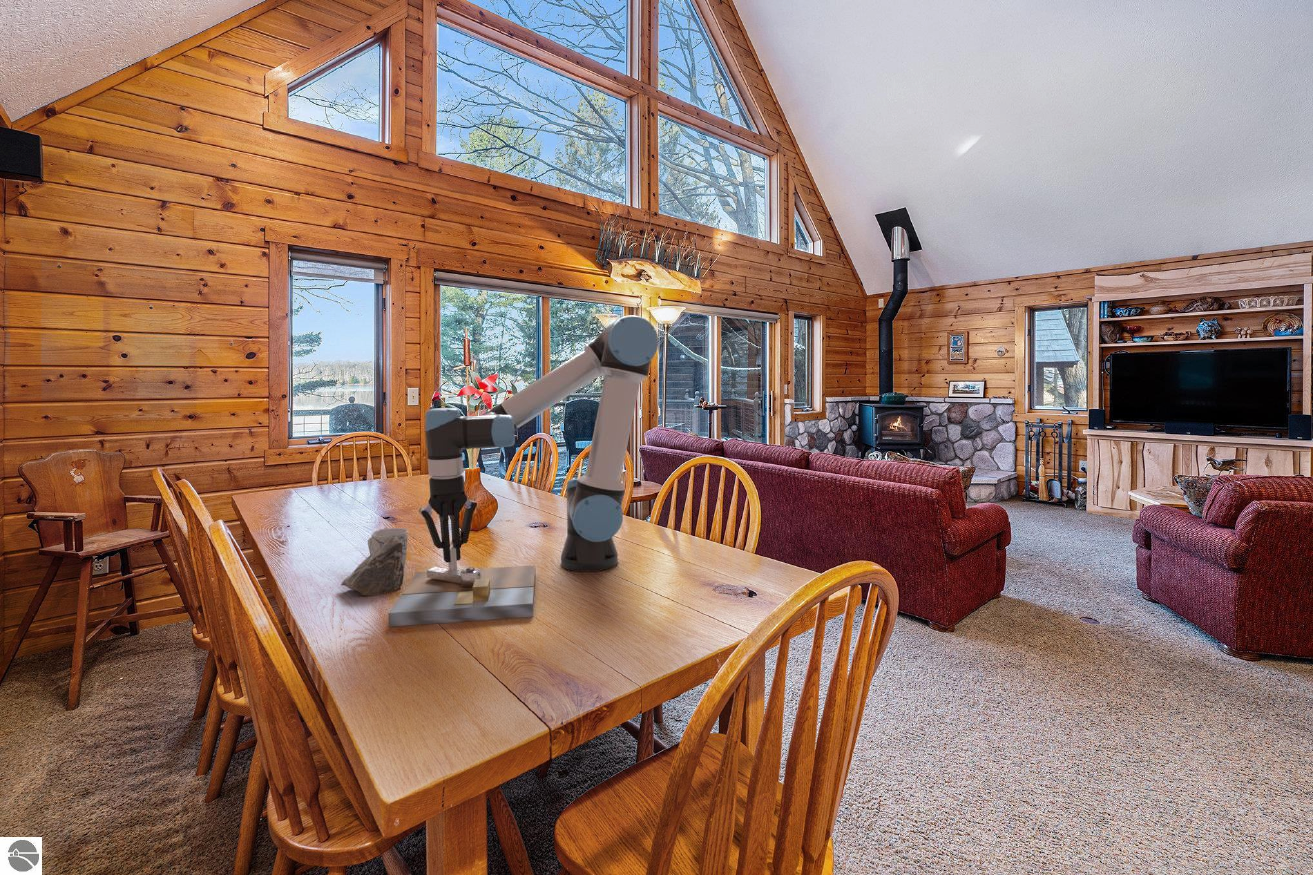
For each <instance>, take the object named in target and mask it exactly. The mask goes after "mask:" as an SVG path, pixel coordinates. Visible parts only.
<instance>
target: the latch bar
mask: <svg viewBox="0 0 1313 875" xmlns="http://www.w3.org/2000/svg"><path fill="white" fill-rule="evenodd" d="M480 569H481V568H475V567H473V566H472V567H467V568H465V569H464V570H462V569H461V570H462V571H458V570H459V569H457V570H452V569H449V568H445V567H439V566H434V567H432V568H428V569H427V570H426V571H427V578H432V579H438V580H444V581H450V582H456V583H461V586H464V587H472V586H473V585H474V582H475V579H481V570H480Z"/></svg>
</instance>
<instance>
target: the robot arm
mask: <svg viewBox="0 0 1313 875" xmlns="http://www.w3.org/2000/svg"><path fill="white" fill-rule="evenodd" d="M658 347H659V336H658V332H657V330H656V329H655V327H654V325H653V324H652V323H651V322H650V321H649V320H647V319H646V318H644V317H642V316H639V315H630V314H629V315H623V316H621V317H618V318H617V319H616V320H615V321H614V322H612V323H610V324H608V326H607V327H606V328H605V329H604V330H603V331H602V332H601V333H600V334H598V336H596V337H595V338H593V339H592V340H591V341H589V342H587V343H586V344H584V349H583V350H582V351H581V352H579V353H578V354H576V355H575V356H573V357H571V358H570V359H568V360H566V361H565V362H563V363H562V364H561V365H559V366H558V367H556V368H554V369H553V370H551V371H550V372H548V373H546V374H544V375H543V376H542V377H540V378H539V379H537V380H536V381H534V382H532V383H531V384H529V385H527V386H526V387H524V388H523V389H521V390H520V391H518V392H517V393H515V394H514V395H512V396H510V397H509V398H507V399H506V400H504V401H503V402H501V403H500V404H498V405H497V406H495V407H493V408H491V409H490V410H489V411H486V412H484V413H483V414H481V415H474V416H473V415H472V416H468V415H466V416H464V415H463V416H462V415H461V411H460V409H459V408H457V407H439V408H430V409H428V410H427V411H426V412H425V415H424V416H425V418H424V420H425V422H424V423H425V427H424V428H425V429H424V432H425V442H426V452H427V465H428V467H427V468H428V470H427V471H428V475H429V476H430V478H429V480H428V481H429V493H430V494H429V495H430V496H429V499H428V503H427V505H426V506H424V507H423V508H419V509H418V512H419V514H420V515H421V516H422V517H423V518H424V520H425V524H426V525H427V529H428V531H429V535H430V537H431V540H432V543H433V545H434V547H436V548H437V549H442V555H443V561H444V562H445V563H446V564H447V565H448V569H452V570H458V563H457V561H460V560H461V557H462V556H461V548H462V545H463V544H467V543H468V541H469V537H470V532H471V526H472V521H473V515H474V512H475V510H476V508H477V507H478V502H476V501H474V500H471V499H469V498H468V496H467V495H466V491H465V476H464V475H463V473H464V463H463V462H464V461H463V460H464V458H463V450H470V449H493V448H494V449H495V448H497V449H502V448H506V447H513V446H514V445H515V442H516V438H515V431H516V430H517V429H519V428H520V427H522V426H524V425H525V424H527V423H528V422H530V421H532V420H533V419H535V418H536V417H537V416H539V415H541V414H543V412H545V411H547V410H548V409H550V408H552V407H554V406H555V405H556V404H558V403H560V402H561V401H562V400H564V399H565V398H567V397H569V396H570V395H572V394H573V393H575V392H576V391H578V390H579V389H581V388H583V387H584V386H586V385H588V384H590V382H592V381H594V380H595V379H597V378H598V377H600V376H602V377H604V379H603V384H602V389H601V394H600V399H599V404H598V409H597V414H596V418H595V423H594V431H593V434H592V440H591V443H590V444H591V445H590V449H589V454H588V459H587V465H586V470H585V472H584V474H583V475H582V476H580V477H579V478H571V479H569V480H568V481H567V482H566V488H565V493H566V524H567V526H566V527H567V528H566V532H567V533H566V534H567V535H566V539H565V542H564V544H563V548H562V552H561V554H560V564H561V567H563V568H564V569H567V570H571V571H575V572H600V571H604V570H608V569H611V568H613V567H615V566H616V565H617V564H618V563H619V562H618V561H619V558H618V556H619V554H618V551H617V547H616V545H615V542H614V539H613V537H614V536H616V534H617V533H618V532H619V531H620V529H621V527H622V525H623V520H624V516H623V515H624V513H623V508H622V505H623V502H624V501H623V500H624V496H625V490H626V487H625V486H624V484H623V483H622V480H621V478H622V474H623V469H624V463H625V459H626V454H627V448H628V444H629V439H630V434H631V429H632V423H633V420H634V414H635V409H636V404H637V398H638V394H639V389H640V385H641V383H643V381H645V380H646V379H648V376H649V373H650V367H651V363H652V359H653V358H655V355H656V353H657V351H658ZM463 507H464V508H465V510H464V513H463V519H462V524H461V527H460V512H461V511H462V509H463ZM432 510H433V511H434V512H435V513H436V514H437V515H438V518H439V523H440V535H439V532H438V530H437V527H436V525H435V522H434V519H433V517H432V515H433V511H432ZM449 517H450V518H449ZM449 519H450V526H451V527H450V526H449ZM449 527H450V528H449ZM460 528H461V529H460ZM450 531H451V538H450ZM440 536H441V537H440ZM450 540H451V541H450ZM451 544H452V545H451Z"/></svg>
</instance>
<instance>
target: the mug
mask: <svg viewBox="0 0 1313 875" xmlns="http://www.w3.org/2000/svg"><path fill="white" fill-rule="evenodd" d="M408 533H409V532H408V530H407V529H406V528H401V527H398V528H397V527H394V528H393V527H392V528H391V527H390V528H385V529H379V530H376V531H373V532H371V537H369V538H368V541H367V546H368V551H369V556H370V555H372V554H374V553H376V552H377V551H378V550H379V548H381V547H382V545H383V544H384V542H385V541H386V540H387V539H388V538H389V537H390V536H392V535H395V536H396V537H397V538H398V539H399V540H400V542H402V545H403V546H402V552H403V556H402V561H401V562H402V564H403V566H404V568H405V566H406V561H407V559H406V558H407V553H408V552H407V551H408V536H409V534H408Z"/></svg>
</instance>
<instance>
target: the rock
mask: <svg viewBox="0 0 1313 875" xmlns="http://www.w3.org/2000/svg"><path fill="white" fill-rule="evenodd" d="M402 546H403V545H402V542H400V540H399V539H398V538H397V537H396V536H395V535H392V536H390V537H389V538H388V539H387V540H386V541H385V542H384V544H383V545H382V547H381V548H379V550H378V551H377V552H376V553H374V554H372V555H370V554H369V556H367V557H366V558H365V559H364V560H363V561H361V563H360V564H359V565H358V566H357V567H356V568H355V569H354V570H353V571H352V572H351V574H350V575H349V576H347V577H346V578H345V579H344V580H343V581H342V582H341V585H340V586H345V587H347V589H349V590H350V591H351V590H352V591H357V592H359V593H360V594H361V595H362V596H377V595H378V596H379V595H381V594H386V593H390V592H395V591H396V590H399V589H400V588H401V587H402V586H403V584H404V583H403V582H404V578H405V577H404V575H405V570H404V569H405V567H404V566H403V564H402V562H401V561H402V556H403V552H402Z"/></svg>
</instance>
